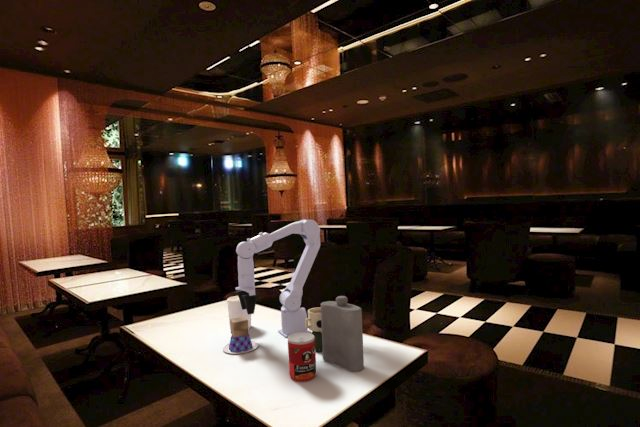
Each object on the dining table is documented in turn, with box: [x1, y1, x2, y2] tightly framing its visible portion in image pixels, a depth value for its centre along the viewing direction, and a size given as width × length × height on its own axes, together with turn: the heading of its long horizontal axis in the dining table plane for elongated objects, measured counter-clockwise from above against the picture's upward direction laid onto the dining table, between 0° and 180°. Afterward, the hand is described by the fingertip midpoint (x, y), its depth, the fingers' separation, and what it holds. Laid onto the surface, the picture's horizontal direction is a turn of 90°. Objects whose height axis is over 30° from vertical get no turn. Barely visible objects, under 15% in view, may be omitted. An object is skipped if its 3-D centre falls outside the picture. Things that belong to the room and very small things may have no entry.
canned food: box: [287, 332, 317, 383], centre depth 102 cm, size 8×8×11 cm
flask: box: [320, 295, 365, 373], centre depth 109 cm, size 15×6×20 cm, turn 44°
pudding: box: [222, 334, 259, 355], centre depth 125 cm, size 12×12×5 cm
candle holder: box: [226, 295, 252, 330], centre depth 147 cm, size 10×10×12 cm
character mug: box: [305, 306, 323, 351], centre depth 121 cm, size 11×7×13 cm, turn 128°
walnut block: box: [229, 317, 250, 337], centre depth 125 cm, size 5×5×5 cm
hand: (247, 311), depth 132 cm, fingers open, 7 cm apart
